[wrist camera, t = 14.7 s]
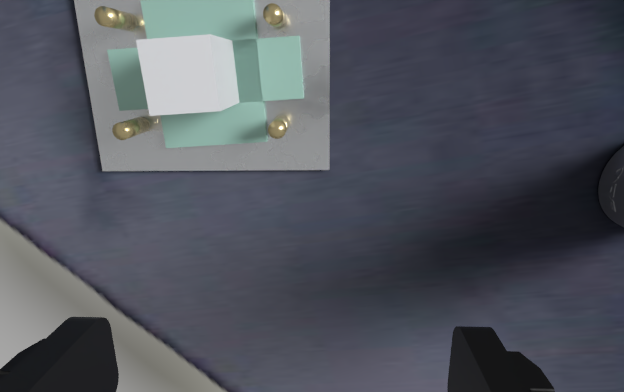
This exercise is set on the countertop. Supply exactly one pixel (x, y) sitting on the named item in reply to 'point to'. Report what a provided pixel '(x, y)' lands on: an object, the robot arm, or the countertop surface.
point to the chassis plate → (246, 156)
